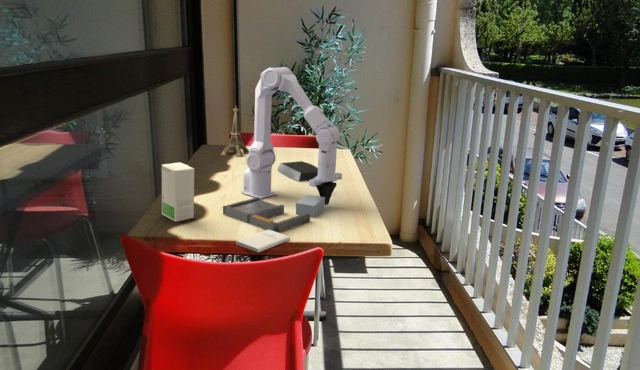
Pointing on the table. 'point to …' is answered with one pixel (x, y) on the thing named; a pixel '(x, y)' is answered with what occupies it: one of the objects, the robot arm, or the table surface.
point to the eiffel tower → (235, 135)
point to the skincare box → (177, 191)
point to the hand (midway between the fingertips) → (324, 203)
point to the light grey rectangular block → (310, 205)
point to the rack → (263, 214)
